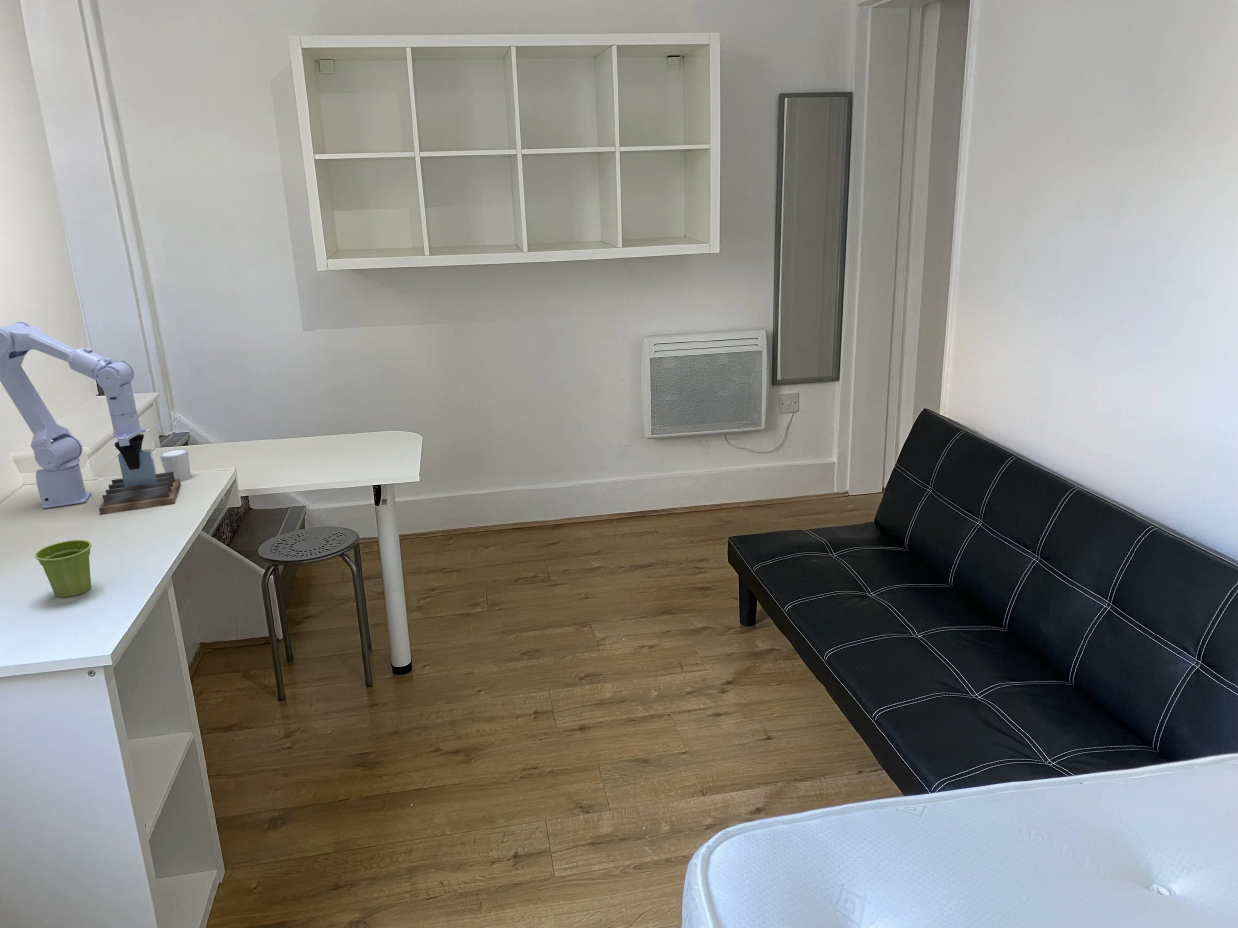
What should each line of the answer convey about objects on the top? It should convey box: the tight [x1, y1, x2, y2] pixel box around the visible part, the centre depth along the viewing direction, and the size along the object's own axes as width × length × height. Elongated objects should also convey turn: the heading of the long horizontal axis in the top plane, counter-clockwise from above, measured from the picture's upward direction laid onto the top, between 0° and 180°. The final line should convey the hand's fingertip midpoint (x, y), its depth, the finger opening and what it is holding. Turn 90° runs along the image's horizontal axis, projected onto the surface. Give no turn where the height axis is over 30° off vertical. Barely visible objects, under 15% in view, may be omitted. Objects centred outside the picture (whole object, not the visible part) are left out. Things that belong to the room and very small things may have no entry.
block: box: [117, 448, 157, 487], centre depth 227 cm, size 7×2×8 cm, turn 109°
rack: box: [98, 472, 182, 515], centre depth 229 cm, size 16×16×4 cm
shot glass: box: [159, 448, 192, 482], centre depth 243 cm, size 7×7×7 cm
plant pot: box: [34, 539, 93, 598], centre depth 177 cm, size 9×9×9 cm
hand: (135, 467), depth 227 cm, fingers closed on block, 2 cm apart
